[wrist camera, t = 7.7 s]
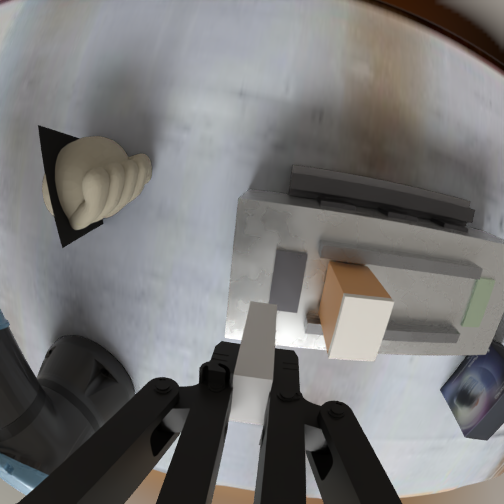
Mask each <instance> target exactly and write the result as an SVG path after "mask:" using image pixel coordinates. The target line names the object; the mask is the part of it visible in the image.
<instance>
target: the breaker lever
mask: <svg viewBox="0 0 504 504" xmlns="http://www.w3.org/2000/svg"><path fill="white" fill-rule="evenodd" d="M393 305H394V301H393V299H392V298H391V297H390V295H389V294H388V292H387V291H386V290H385V288H384V287H383V286H382V284H381V283H380V282H379V281H378V279H377V278H376V277H375V275H374V274H373V273H372V271H371V270H370V269H369V268H368V266H360V265H353V264H345V263H338V262H330V261H329V264H328V269H327V274H326V279H325V284H324V288H323V293H322V298H321V302H320V307H319V311H318V313H319V317H320V322H321V326H322V331H323V335H324V339H325V344H326V349H327V353H328V358H329V359H342V360H357V361H375V359H376V356H377V353H378V351H379V348H380V345H381V342H382V339H383V336H384V333H385V330H386V327H387V324H388V321H389V318H390V315H391V311H392V308H393Z"/></svg>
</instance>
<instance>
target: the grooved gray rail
mask: <svg viewBox="0 0 504 504" xmlns="http://www.w3.org/2000/svg"><path fill="white" fill-rule="evenodd" d="M289 195H292V196H300V197H306V198H313V199H317V197H324V198H330V199H336V200H342V201H348V202H350V203H352V204H353V205H357V206H363V207H368V208H374V209H378V207H382V208H388V209H393V210H398V211H403V212H407V213H409V214H411V215H413V216H416V217H421V218H426V219H430V220H431V217H432V218H437V219H442V220H446V221H450V222H454V223H457V224H459V225H461V226H464V227H465V226H466V221H467V222H471V223H472V222H473V217H474V212H475V210H473V209H470V208H469V206H470V201H467V200H463V199H460V198H456V197H452V196H448V195H445V194H441V193H437V192H433V191H429V190H424V189H420V188H416V187H412V186H407V185H403V184H398V183H394V182H389V181H384V180H379V179H374V178H369V177H364V176H359V175H354V174H348V173H342V172H337V171H331V170H325V169H318V168H312V167H305V166H299V165H292V173H291V181H290V188H289Z"/></svg>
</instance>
